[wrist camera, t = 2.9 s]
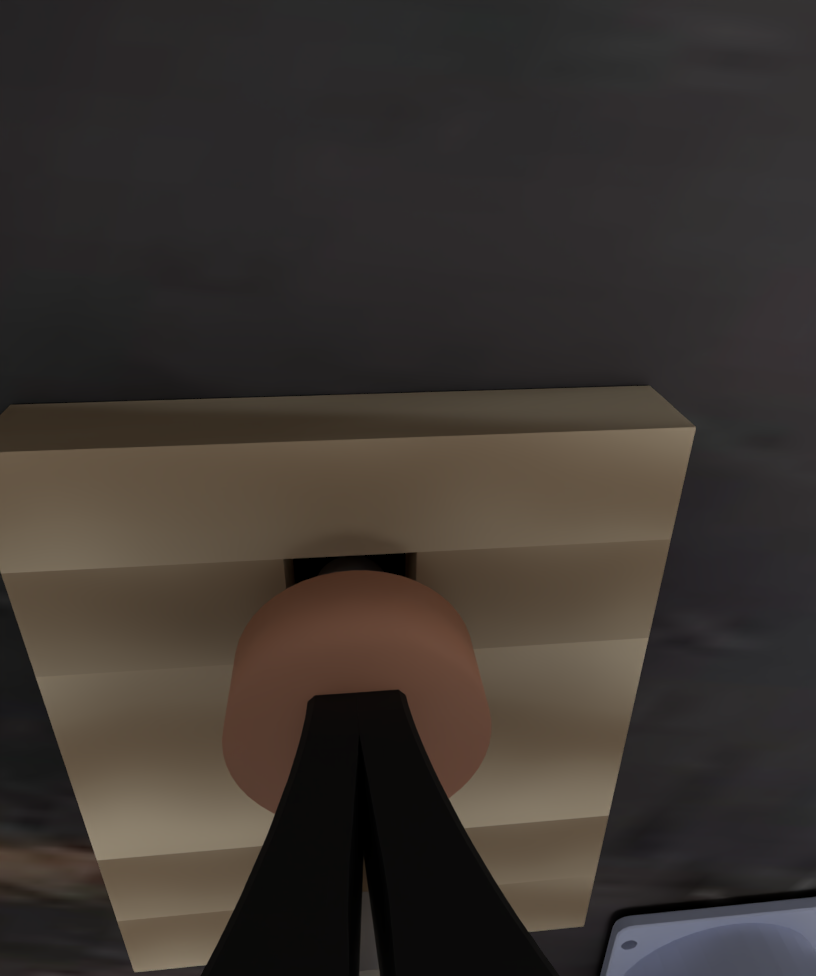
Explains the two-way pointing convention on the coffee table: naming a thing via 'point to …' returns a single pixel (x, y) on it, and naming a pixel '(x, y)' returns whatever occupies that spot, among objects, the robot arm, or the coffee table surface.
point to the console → (270, 570)
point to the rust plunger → (353, 672)
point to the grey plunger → (367, 941)
